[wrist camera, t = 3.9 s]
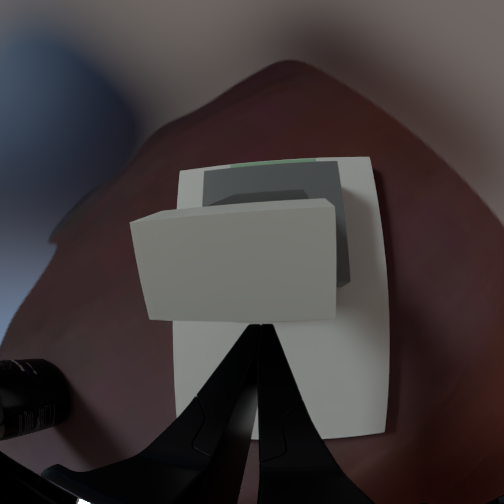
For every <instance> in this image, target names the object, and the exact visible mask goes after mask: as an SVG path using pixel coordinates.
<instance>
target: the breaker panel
mask: <svg viewBox="0 0 504 504" xmlns="http://www.w3.org/2000/svg"><path fill="white" fill-rule="evenodd" d="M300 189H304V191H305V192H306V194H307V196H308V197H309V199H320V198H325V199H327V200H328V201H329V202H330V203H331V204H333V205H334V206H335V216H336V316H335V319H321V320H300V321H265V322H203V321H173V354H174V381H175V399H176V414H177V418H178V416H179V415H180V414H181V413H182V412H183V411H184V410H185V408H186V407H187V406H188V405H189V404H190V402H191V401H192V400H193V398H194V397H195V396H197V393H198V392H199V391H200V389H201V388H202V387H203V385H204V384H205V383H206V381H207V380H208V379H209V377H210V376H211V375H212V373H213V372H214V371H215V369H216V368H217V367H218V365H219V364H220V363H221V361H222V360H223V359H224V357H225V356H226V355H227V353H228V352H229V351H230V349H231V348H232V346H233V345H234V344H235V342H236V341H237V340H238V338H239V337H240V335H241V334H242V333H243V331H244V330H245V329H246V327H247V326H248V325H249V324H260V325H262V324H273V325H274V327H275V330H276V332H277V335H278V338H279V340H280V343H281V345H282V348H283V350H284V353H285V355H286V358H287V361H288V363H289V366H290V368H291V371H292V373H293V376H294V378H295V381H296V383H297V386H298V389H299V391H300V394H301V396H302V400H303V401H304V403H305V406H306V409H307V411H308V413H309V415H310V418H311V420H312V422H313V424H314V426H315V427H316V429H317V431H318V433H319V435H320V436H321V438H322V439H330V438H342V437H352V436H361V435H369V434H376V433H382V432H385V424H386V414H387V402H388V386H389V357H390V329H389V300H388V283H387V270H386V259H385V249H384V241H383V233H382V225H381V218H380V211H379V205H378V199H377V193H376V187H375V182H374V176H373V171H372V166H371V162H370V157H334V158H308V159H290V160H275V161H263V162H251V163H241V164H232V165H223V166H214V167H206V168H199V169H191V170H184V171H180V177H179V188H178V200H177V209H186V208H195V207H206V206H208V205H210V204H213V203H215V202H217V201H220V200H222V199H224V198H227V197H229V196H232V195H234V194H243V193H255V192H268V191H283V190H300ZM251 439H257V440H259V433H258V406H257V411H256V416H255V422H254V427H253V432H252V437H251Z"/></svg>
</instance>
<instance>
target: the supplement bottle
mask: <svg viewBox="0 0 504 504" xmlns="http://www.w3.org/2000/svg"><path fill="white" fill-rule="evenodd" d="M69 412H70V397H69V392H68V389H67V386H66V383H65V381H64V379H63V377H62V375H61V374H60V372H59V371H58V370H57V368H56V367H55V366H54V365H53V364H51V363H50V362H49V361H47V360H44V359H20V360H0V441H2V440H7V439H11V438H15V437H19V436H23V435H26V434H30V433H34V432H37V431H41V430H44V429H47V428H51V427H54V426H57V425H60V424H62V423H63V422H65V421H66V419H67V418H68V415H69Z"/></svg>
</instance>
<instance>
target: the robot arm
mask: <svg viewBox="0 0 504 504" xmlns="http://www.w3.org/2000/svg"><path fill="white" fill-rule="evenodd" d="M257 406H258V433H259V462H260V464H259V467H260V474H259V489H258V500H257V504H375V503H374V502H373V501H372V500H371V499H370V498H369V497H368V496H367V495H366V494H365V493H364V492H362V491H361V490H360V489H359V488H358V487H357V486H356V485H355V484H354V483H353V482H352V481H351V480H350V479H349V478H348V477H347V476H346V475H345V473H344V472H343V471H342V470H341V468H340V467H339V465H338V464H337V462H336V461H335V459H334V458H333V456H332V454H331V453H330V451H329V449H328V448H327V446H326V445H325V443H324V441H323V440H322V438H321V436H320V435H319V433H318V431H317V429H316V427H315V426H314V424H313V422H312V420H311V418H310V415H309V413H308V411H307V409H306V406H305V403H304V401H303V400H302V396H301V394H300V391H299V389H298V386H297V383H296V381H295V378H294V376H293V373H292V371H291V368H290V366H289V363H288V361H287V358H286V355H285V353H284V350H283V348H282V345H281V343H280V340H279V338H278V335H277V332H276V330H275V327H274V325H273V324H262V325H260V324H249V325H248V326H247V327H246V329H245V330H244V331H243V333H242V334H241V335H240V337H239V338H238V340H237V341H236V342H235V344H234V345H233V346H232V348H231V349H230V351H229V352H228V353H227V355H226V356H225V357H224V359H223V360H222V361H221V363H220V364H219V365H218V367H217V368H216V369H215V371H214V372H213V373H212V375H211V376H210V377H209V379H208V380H207V381H206V383H205V384H204V385H203V387H202V388H201V389H200V391H199V392H198V393H197V396H195V397H194V398H193V400H192V401H191V402H190V404H189V405H188V406H187V407H186V408H185V410H184V411H183V412H182V413H181V414H180V415H179V416H178V418H177V419H176V420H175V421H174V422H173V423H172V424H171V425H170V426H169V427H168V428H167V429H166V430H165V431H164V432H163V433H162V434H160V435H159V436H158V437H157V438H156V439H155V440H154V441H153V442H152V443H151V444H150V445H149V446H148V447H147V448H146V449H144V450H143V451H142V452H140V453H139V454H137V455H135V456H133V457H131V458H128V459H125V460H122V461H119V462H116V463H113V464H110V465H107V466H104V467H101V468H98V469H94V470H91V471H86V472H75V471H72V470H70V469H68V468H66V467H64V466H62V465H60V464H55V465H53V466H51V467H49V468H47V469H45V470H44V471H43V472H42V473H41V476H42V477H41V476H39V475H38V474H36V473H34V472H33V471H31V470H29V469H28V468H26V467H24V466H23V465H21V464H19V463H18V462H16V461H15V460H13V459H11V458H10V457H8V456H7V455H5V454H4V453H2V452H1V451H0V504H237V501H238V497H239V493H240V488H241V487H240V486H241V484H242V479H243V475H244V470H245V465H246V461H247V456H248V451H249V446H250V441H251V437H252V432H253V427H254V422H255V416H256V411H257ZM421 504H428V503H421ZM486 504H504V495H502V496H500V497H498V498H496V499H494V500H492V501H490V502H488V503H486Z"/></svg>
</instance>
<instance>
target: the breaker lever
mask: <svg viewBox="0 0 504 504" xmlns="http://www.w3.org/2000/svg"><path fill="white" fill-rule="evenodd" d="M130 227H131V233H132V239H133V245H134V250H135V256H136V261H137V266H138V271H139V276H140V281H141V285H142V290H143V294H144V298H145V303H146V307H147V311H148V315H149V319H150V320H169V321H203V322H265V321H300V320H321V319H335V316H336V216H335V206H334V205H333V204H331V203H330V202H329V201H328V200H327V199H325V198H320V199H309V197H308V196H307V194H306V192H305V191H304V189H300V190H283V191H268V192H255V193H243V194H234V195H232V196H229V197H227V198H224V199H222V200H220V201H217V202H215V203H213V204H210V205H208V206H206V207H195V208H186V209H176V210H167V211H161V212H158V213H155V214H152V215H149V216H147V217H144V218H141V219H138V220H136V221H133V222H130Z"/></svg>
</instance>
